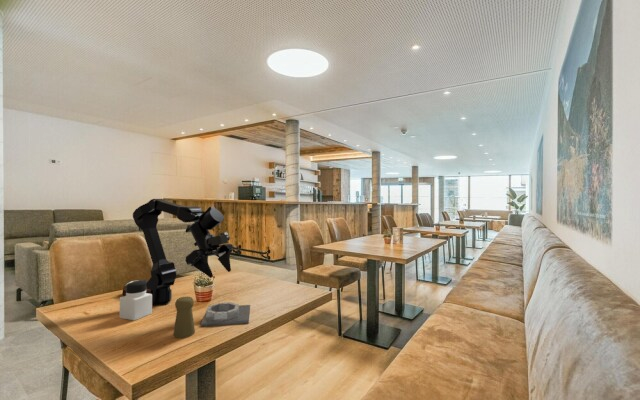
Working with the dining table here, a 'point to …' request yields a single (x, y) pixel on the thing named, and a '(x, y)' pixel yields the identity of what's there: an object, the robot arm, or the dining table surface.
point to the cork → (184, 318)
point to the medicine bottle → (135, 301)
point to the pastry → (146, 289)
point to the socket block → (226, 314)
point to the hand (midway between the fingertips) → (221, 274)
